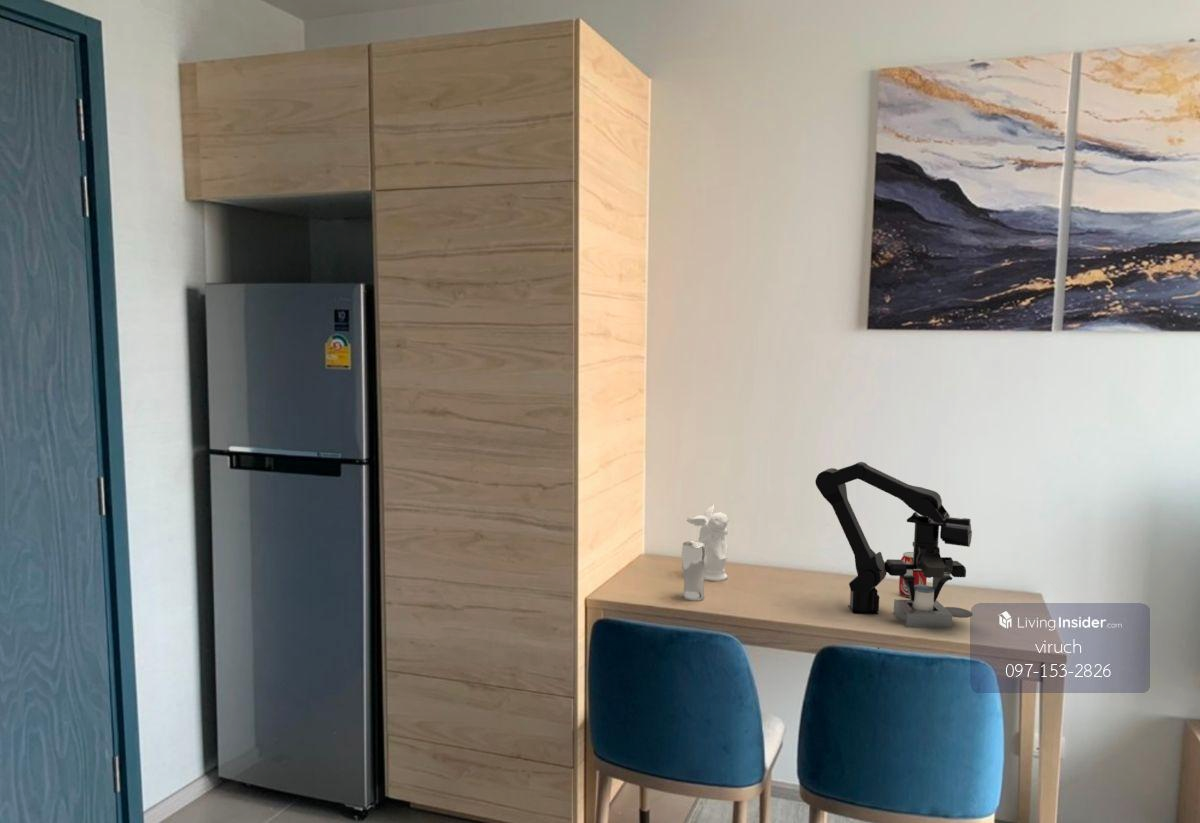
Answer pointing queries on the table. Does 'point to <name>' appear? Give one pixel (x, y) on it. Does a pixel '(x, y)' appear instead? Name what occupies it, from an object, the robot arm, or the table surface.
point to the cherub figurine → (713, 542)
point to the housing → (922, 615)
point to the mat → (959, 612)
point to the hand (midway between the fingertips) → (923, 601)
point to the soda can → (919, 576)
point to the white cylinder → (923, 598)
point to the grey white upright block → (694, 569)
